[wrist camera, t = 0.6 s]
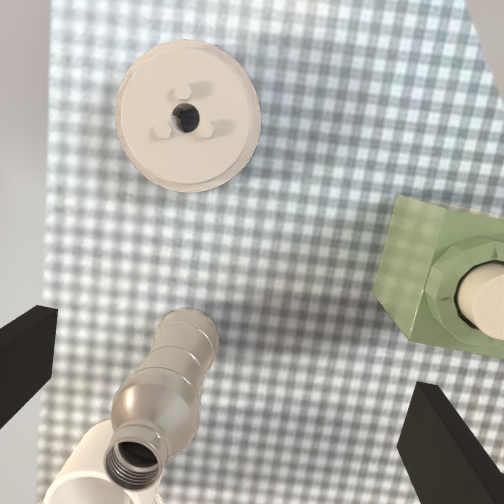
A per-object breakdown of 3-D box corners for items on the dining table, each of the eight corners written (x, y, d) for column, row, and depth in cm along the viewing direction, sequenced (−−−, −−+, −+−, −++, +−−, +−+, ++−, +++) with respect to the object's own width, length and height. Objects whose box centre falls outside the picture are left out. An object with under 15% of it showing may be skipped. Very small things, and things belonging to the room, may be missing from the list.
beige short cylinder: (510, 330, 30) (532, 346, 27) (448, 318, 30) (464, 333, 27) (531, 269, 29) (556, 280, 26) (466, 257, 29) (485, 267, 26)
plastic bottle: (211, 295, 44) (165, 404, 25) (229, 354, 46) (199, 502, 26) (152, 309, 45) (62, 427, 26) (172, 367, 46) (100, 521, 27)
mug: (204, 456, 49) (190, 523, 40) (150, 513, 51) (124, 589, 42) (119, 392, 47) (84, 447, 38) (66, 453, 49) (21, 519, 40)
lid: (105, 147, 42) (83, 146, 37) (165, 22, 39) (150, 3, 34) (220, 213, 43) (213, 220, 38) (286, 95, 40) (288, 86, 35)
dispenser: (444, 305, 44) (523, 374, 30) (371, 291, 44) (417, 353, 30) (474, 208, 41) (574, 234, 28) (397, 193, 41) (458, 212, 28)
